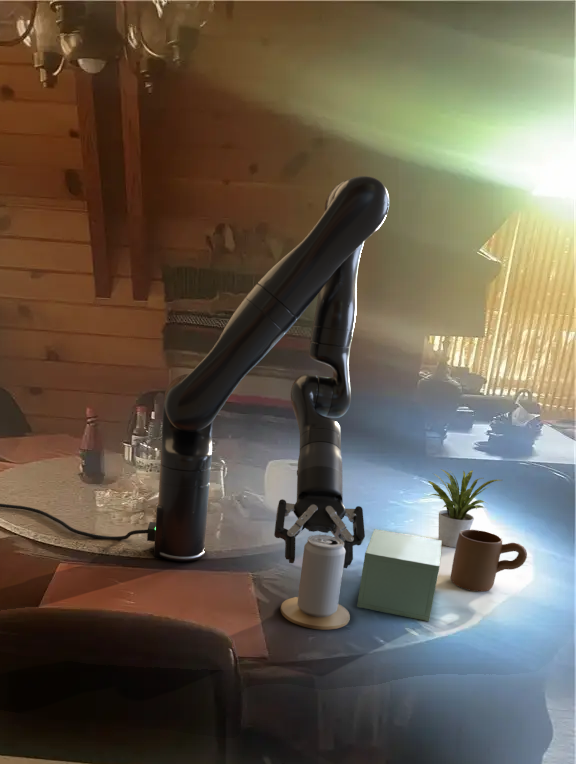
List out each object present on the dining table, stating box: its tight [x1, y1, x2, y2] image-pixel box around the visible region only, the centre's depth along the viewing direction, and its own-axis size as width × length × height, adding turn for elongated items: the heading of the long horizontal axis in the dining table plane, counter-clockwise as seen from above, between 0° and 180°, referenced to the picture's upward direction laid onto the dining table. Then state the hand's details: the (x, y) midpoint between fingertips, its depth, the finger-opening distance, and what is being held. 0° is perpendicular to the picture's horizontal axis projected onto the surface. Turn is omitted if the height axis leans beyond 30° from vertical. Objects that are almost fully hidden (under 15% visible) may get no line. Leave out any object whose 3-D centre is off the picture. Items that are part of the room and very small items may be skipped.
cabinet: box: [356, 528, 443, 622], centre depth 128 cm, size 14×12×10 cm
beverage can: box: [297, 534, 346, 617], centre depth 119 cm, size 6×6×12 cm
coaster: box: [280, 596, 351, 631], centre depth 121 cm, size 11×11×1 cm
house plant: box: [427, 468, 502, 548], centre depth 158 cm, size 14×14×16 cm
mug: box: [450, 529, 528, 592], centre depth 137 cm, size 12×8×9 cm, turn 71°
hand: (318, 563), depth 120 cm, fingers open, 8 cm apart
